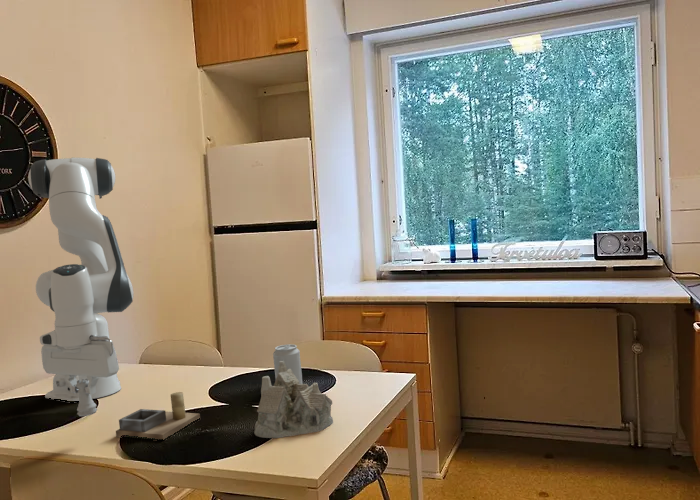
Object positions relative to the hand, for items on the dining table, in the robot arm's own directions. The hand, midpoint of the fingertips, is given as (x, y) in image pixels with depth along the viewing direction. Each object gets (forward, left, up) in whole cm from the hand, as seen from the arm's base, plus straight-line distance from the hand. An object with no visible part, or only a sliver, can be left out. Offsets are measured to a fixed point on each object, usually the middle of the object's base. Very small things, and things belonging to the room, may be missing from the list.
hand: (83, 393), depth 145 cm
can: (+30, +45, -12) cm, 55 cm away
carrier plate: (+12, +11, -12) cm, 20 cm away
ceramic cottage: (+45, +17, -12) cm, 50 cm away
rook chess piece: (0, 0, -5) cm, 5 cm away
